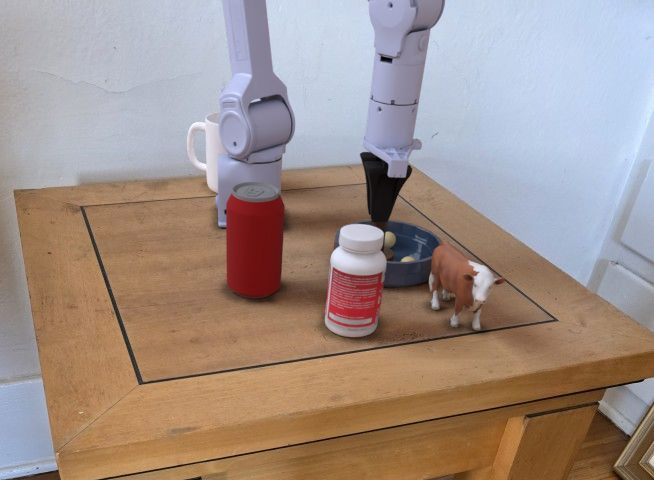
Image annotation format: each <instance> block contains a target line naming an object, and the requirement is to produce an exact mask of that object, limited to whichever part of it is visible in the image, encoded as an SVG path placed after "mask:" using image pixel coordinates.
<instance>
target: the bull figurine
mask: <svg viewBox="0 0 654 480" xmlns="http://www.w3.org/2000/svg"><path fill="white" fill-rule="evenodd" d="M431 269H432V270H431V273H430V277H429V280H428V286H429V291H430V292H431V293H432V299H431V300H430V304H431V309H432V310H434V311H438V310H440V309H441V307H440V301H439V290H440V288H441V287H440V286H442V288H443V290H442V292H441V293H442V294H441V295H442V300H444V301H446V302H447V301H450V300H451V298H454V297H455V303H454V313H453V315H452V317H450V327H451V328H458V327H459V318H460V317H459V316H460V315H461V313H462V312H463V307H465V308H466V310H467V311H468V312H472V313H473V320H472V322H471V324H472V326H471V327H472V328H471V329H472V330H473V331H477V332H478V331H481V330H482V327H481V323H480V316H481V313H482V305H485V304H487V301H488V296H489V294H490V292H491V290H492V287H493V285H496V286H497V285H498V286H499V285H503V284H504V283H505V282H506V281H507V280H506V278H505V277H503V276H501V277H494V274H493V273H492V272H491V271H490V269H489V267H487V266H486V265H483V264H480V263H477V262H475V261H473V260H472V259H471V258H469V257H468V256H467V255H466V254H465V253H464V252H463V251H461V250H460V249H458V248H457V247H456V246H454V245H452V244H450V243H449V242H448V241H442V243H441V244H440V245H439V246H438V247H437V248H435V250H434V252H433V255H432V263H431Z"/></svg>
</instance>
